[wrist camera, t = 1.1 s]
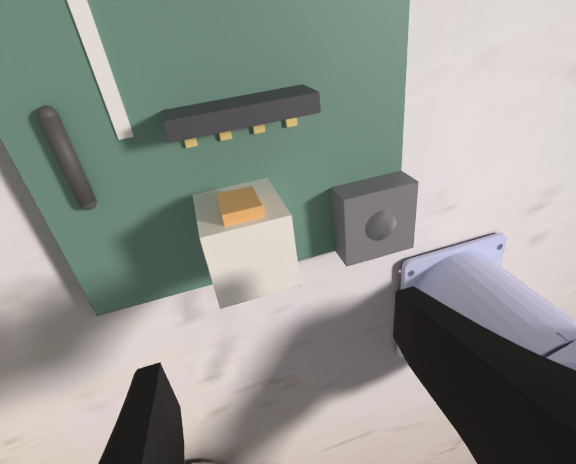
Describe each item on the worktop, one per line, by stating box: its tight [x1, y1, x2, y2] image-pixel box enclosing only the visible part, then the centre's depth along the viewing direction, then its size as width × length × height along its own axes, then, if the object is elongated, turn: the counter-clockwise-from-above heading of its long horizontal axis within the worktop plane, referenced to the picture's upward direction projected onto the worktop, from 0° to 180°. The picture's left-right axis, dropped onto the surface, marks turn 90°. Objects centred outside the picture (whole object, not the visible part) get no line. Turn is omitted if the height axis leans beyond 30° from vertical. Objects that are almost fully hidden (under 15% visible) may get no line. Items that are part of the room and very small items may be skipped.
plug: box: [193, 178, 301, 309], centre depth 17 cm, size 4×4×4 cm
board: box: [0, 0, 418, 316], centre depth 16 cm, size 15×17×3 cm
